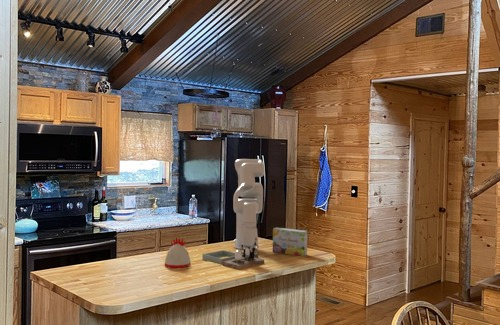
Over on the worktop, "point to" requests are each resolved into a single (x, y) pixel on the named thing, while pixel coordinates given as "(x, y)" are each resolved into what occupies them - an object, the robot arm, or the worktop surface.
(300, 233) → the snack box
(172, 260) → the kitchen timer
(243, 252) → the button console
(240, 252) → the cylinder
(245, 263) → the board
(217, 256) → the tote
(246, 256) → the billet
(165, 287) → the worktop surface
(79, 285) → the worktop surface
